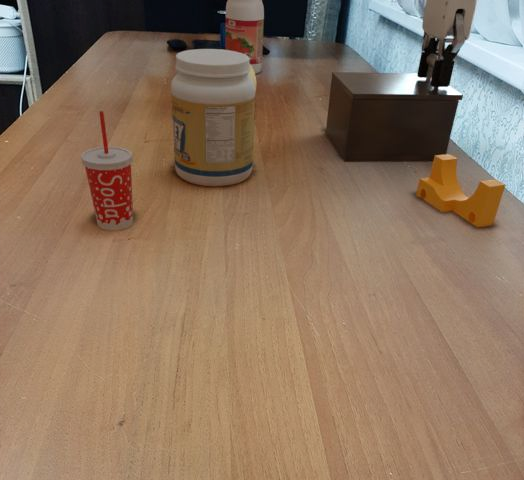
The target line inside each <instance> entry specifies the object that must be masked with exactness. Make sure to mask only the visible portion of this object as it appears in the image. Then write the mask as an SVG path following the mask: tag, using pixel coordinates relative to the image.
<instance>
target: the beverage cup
mask: <svg viewBox="0 0 524 480" xmlns="http://www.w3.org/2000/svg"><path fill="white" fill-rule="evenodd" d="M104 113H105V112H104V111H103V110H100V111H98V114H99V121H100V130H101V137H102V143H103V146H99V147H93V148H89V149H86V150H85V151H83V152H82V153H81V155H80V159H81V164H82V165H83V166H84V169H85V173H86V177H87V183H88V187H89V192H90V196H91V201H92V206H93V211H94V214H95V220H96V224H97V226H98V227H99V229H102V230H105V231H110V232H113V231H116V232H117V231H122V230H123V231H124V230H126V229H128V228H130V227H132V226H133V224H134V206H133V205H134V204H133V183H132V181H133V180H132V163H133V161H134V160H133V153H132V151H131V150H129V149H127V148H124V147H120V146H109V145H108V137H107V130H106V129H107V128H106V121H105V114H104Z"/></svg>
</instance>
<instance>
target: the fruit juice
mask: <svg viewBox="0 0 524 480" xmlns="http://www.w3.org/2000/svg"><path fill="white" fill-rule="evenodd" d="M264 20H265V7H264V3H263V0H227V1H226V4H225V50H230V51H235V52H239V53H243V54H245V55H247V56H248V57H249V63H250V64H251V66H252V68H253V70H254V72H255V75H256V74H259V73H261V72H262V69H263V49H264V46H263V45H264V25H265V24H264V23H265V21H264Z"/></svg>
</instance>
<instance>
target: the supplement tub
mask: <svg viewBox="0 0 524 480" xmlns="http://www.w3.org/2000/svg"><path fill="white" fill-rule="evenodd" d="M174 67H175V69H174V70H175V71H177V73H176V75H174V77H173V78H172V80H171V83H170V96H171V97H170V98H171V99H170V100H171V116H172V134H173V135H172V136H173V137H172V138H173V155H174V169H175V172H176V174H177V176H178V177H180V178H181V179H183V180H184V181H185V182H188V183H190V184H193V185H196V186H202V187H225V186H232V185H236V184H240V183H242V182H244V181H245V180H247V179H248V178H249V177H250V176H251V174H252V171H253V168H254V135H255V108H256V107H255V104H256V92H255V85H254V83H253V81H252V79H251V78H250V77H249V76H248V73H249V72H250V67H249V57H248V56H247V55H245V54H243V53H239V52H235V51H230V50H226V49H221V48H220V49H219V48H196V49H186V50H183V51H179V52H178V53H176V55H175V66H174Z"/></svg>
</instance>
